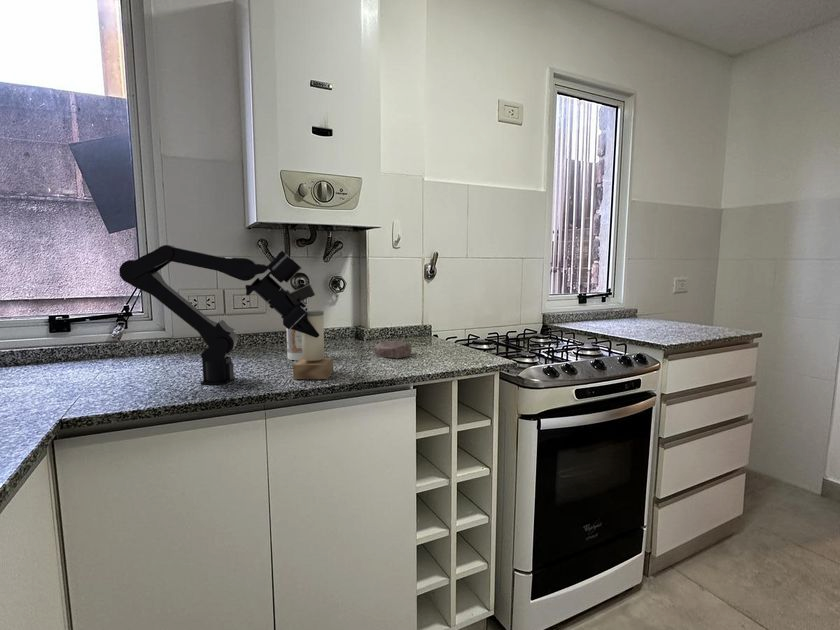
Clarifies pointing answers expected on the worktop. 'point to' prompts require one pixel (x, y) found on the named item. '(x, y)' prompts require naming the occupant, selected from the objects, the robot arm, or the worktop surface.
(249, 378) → the worktop surface
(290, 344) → the bath foam
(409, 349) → the stone
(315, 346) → the tea tin
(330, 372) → the walnut box
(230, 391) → the worktop surface
